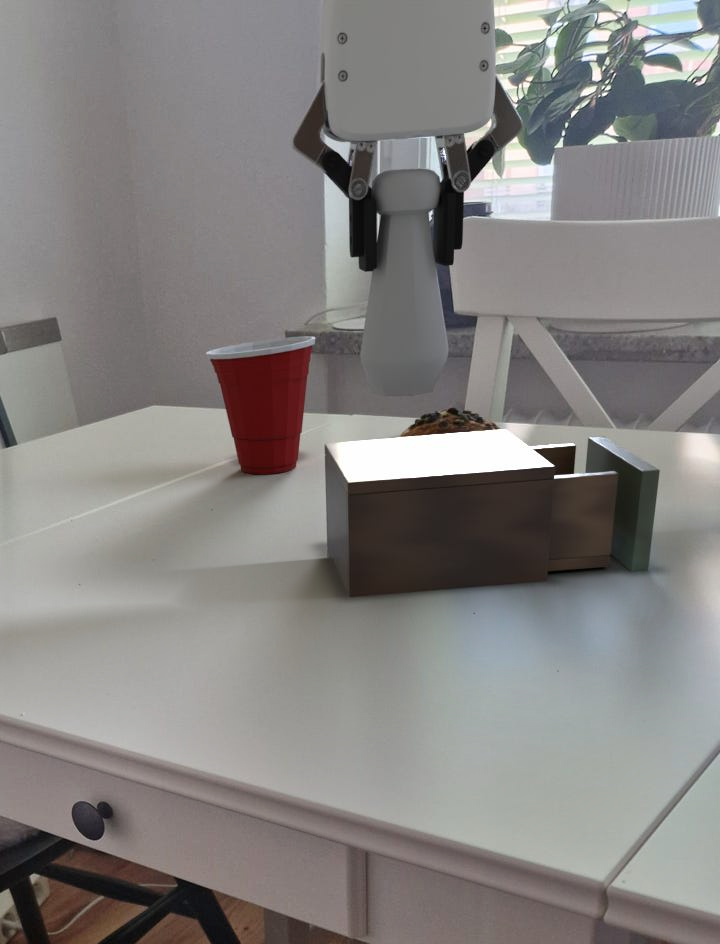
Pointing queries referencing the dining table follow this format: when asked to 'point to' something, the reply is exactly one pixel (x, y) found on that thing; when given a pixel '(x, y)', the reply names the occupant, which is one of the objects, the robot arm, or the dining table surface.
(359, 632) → the dining table surface
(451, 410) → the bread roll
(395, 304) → the salt shaker
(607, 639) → the dining table surface
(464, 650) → the dining table surface
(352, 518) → the cabinet
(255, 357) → the plastic cup
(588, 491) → the drawer
